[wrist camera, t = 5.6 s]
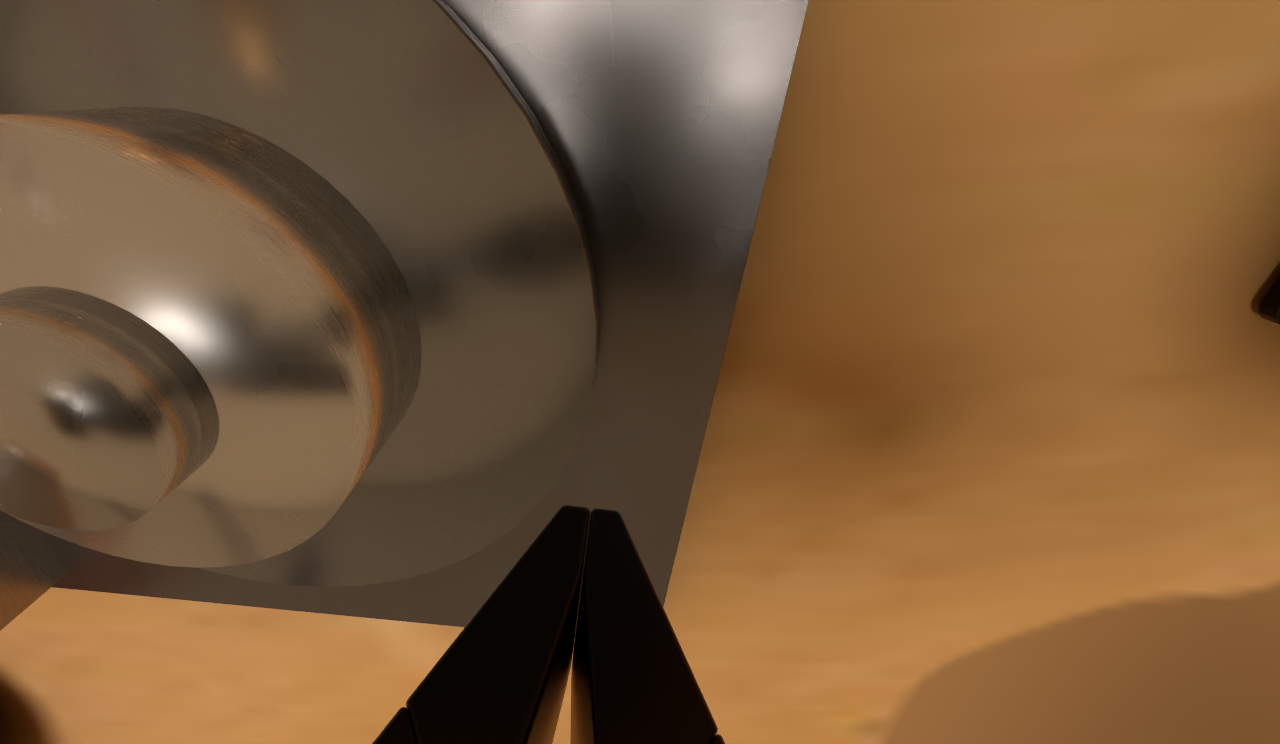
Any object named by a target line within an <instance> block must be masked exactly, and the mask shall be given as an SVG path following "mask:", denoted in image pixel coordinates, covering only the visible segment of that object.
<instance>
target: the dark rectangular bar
mask: <svg viewBox="0 0 1280 744" xmlns="http://www.w3.org/2000/svg"><path fill="white" fill-rule="evenodd" d="M67 573H68V571H67V569H66V567H65V565H64V564H63V562H62V560H61V558H60V556H59V554H58V553H57V551H56V549H55V547H54V545H53V543H52V542H51V540H50V538H49V536H48V534H47V533H46V532H44V531H42V530H40V529H37V528H35V527H33V526H31V525H29V524H26V523H24V522H22V521H20V520H18V519H16V518H14V517H12V516H11V515H9V514H7V513H2V512H0V630H2V629H3V628H4V627H5V626H6V625H7V624H9V623H10V622H11V621H12V620H13V619H14V618H16V617H17V616H18V615H19V614H20V613H21V612H23V611H24V610H25V609H26V608H27V607H28V606H30V605H31V604H32V603H33V602H34V601H35V600H37V599H38V598H39V597H40V596H41V595H42V594H44V593H45V592H46V591H47V590H48V589H49V588H51V587H52V586H53V585H54V584H55V583H56V582H58V581H59V580H60V579H61V578H62V577H64V576H65V575H66V574H67Z"/></svg>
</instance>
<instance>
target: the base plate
mask: <svg viewBox="0 0 1280 744" xmlns="http://www.w3.org/2000/svg"><path fill="white" fill-rule="evenodd" d="M443 1H444V2H445V3H446V4H447V5H448V6H449V7H450V8H451V9H452V10H453V11H454V12H455V13H456V14H457V15H458V16H459V18H460V19H461V20H462V21H463V22H464V23H465V24H466V26H467V27H468V28H469V29H470V30H471V31H472V32H473V34H474V35H475V36H476V37H477V38H478V39H479V40H480V42H481V43H482V44H483V45H484V46H485V47H486V48H487V50H488V51H489V52H490V53H491V54H492V55H493V56H494V58H495V59H496V60H497V61H498V62H499V64H500V65H501V67H502V68H503V70H504V71H505V73H506V74H507V75H508V77H509V78H510V80H511V81H512V83H513V84H514V85H515V87H516V88H517V90H518V91H519V93H520V94H521V96H522V97H523V98H524V100H525V101H526V103H527V104H528V106H529V107H530V109H531V110H532V111H533V113H534V114H535V116H536V118H537V120H538V122H539V124H540V126H541V128H542V129H543V131H544V133H545V135H546V137H547V139H548V141H549V142H550V144H551V146H552V148H553V150H554V152H555V154H556V156H557V157H558V159H559V161H560V163H561V165H562V167H563V170H564V172H565V175H566V177H567V180H568V182H569V185H570V187H571V190H572V193H573V195H574V198H575V200H576V203H577V205H578V208H579V211H580V213H581V216H582V219H583V223H584V227H585V231H586V235H587V239H588V243H589V247H590V251H591V255H592V259H593V263H594V268H595V277H596V286H597V294H598V303H599V342H598V356H597V362H596V367H595V373H594V379H593V384H592V390H591V396H590V402H589V407H588V412H587V415H586V418H585V421H584V424H583V427H582V430H581V433H580V436H579V438H578V441H577V444H576V447H575V449H574V451H573V453H572V455H571V456H570V458H569V460H568V462H567V464H566V466H565V468H564V470H563V471H562V473H561V475H560V477H559V478H558V480H557V481H556V482H555V484H554V485H553V486H552V488H551V489H550V490H549V492H548V493H547V494H546V496H545V497H544V498H543V500H542V501H541V502H540V504H539V505H538V506H537V507H536V508H535V509H534V510H533V511H531V512H530V513H529V514H528V515H527V516H526V517H525V518H524V519H523V520H522V521H521V522H520V523H519V524H518V525H517V526H516V527H515V528H513V529H512V530H511V531H509V532H508V533H506V534H505V535H504V536H502V537H501V538H499V539H498V540H497V541H495V542H494V543H492V544H491V545H490V546H488V547H486V548H484V549H482V550H480V551H478V552H476V553H475V554H473V555H471V556H469V557H467V558H465V559H463V560H461V561H459V562H456V563H454V564H451V565H448V566H446V567H443V568H440V569H438V570H435V571H432V572H430V573H426V574H422V575H418V576H414V577H410V578H406V579H402V580H398V581H391V582H384V583H377V584H369V585H362V586H337V587H317V586H297V585H284V584H277V583H269V582H262V581H255V580H248V579H244V578H239V577H234V576H230V575H225V574H220V573H216V572H211V571H208V570H204V569H201V568H194V567H178V566H166V565H160V564H153V563H146V562H140V561H135V560H131V559H126V558H122V557H117V556H113V555H109V554H106V553H103V552H99V551H96V550H93V549H89V548H86V547H83V546H80V545H77V544H75V543H72V542H69V541H67V540H64V539H61V538H59V537H56V536H53V535H51V534H49V533H47V534H48V536H49V538H50V540H51V542H52V543H53V545H54V547H55V549H56V551H57V553H58V554H59V556H60V558H61V560H62V562H63V564H64V565H65V567H66V569H67V571H68V573H67V574H66V575H65V576H64V577H62V578H61V579H60V580H59V581H58V582H56V583H55V584H54V585H53V586H52V587H57V588H68V589H78V590H88V591H99V592H109V593H119V594H129V595H140V596H150V597H160V598H171V599H181V600H191V601H201V602H212V603H222V604H232V605H243V606H253V607H263V608H273V609H284V610H294V611H304V612H315V613H325V614H335V615H346V616H356V617H366V618H376V619H387V620H397V621H407V622H418V623H428V624H438V625H448V626H459V627H466V626H467V625H468V623H469V622H470V621H471V620H472V618H473V617H474V616H475V614H476V613H477V612H478V611H479V609H480V608H481V607H482V606H483V604H484V603H485V602H486V601H487V599H488V598H489V597H490V596H491V594H492V593H493V592H494V591H495V589H496V588H497V587H498V586H499V584H500V583H501V582H502V581H503V579H504V578H505V577H506V576H507V574H508V573H509V572H510V570H511V569H512V568H513V567H514V565H515V564H516V563H517V562H518V560H519V559H520V558H521V557H522V555H523V554H524V553H525V552H526V550H527V549H528V548H529V547H530V545H531V544H532V543H533V542H534V540H535V539H536V538H537V537H538V535H539V534H540V533H541V532H542V530H543V529H544V528H545V526H546V525H547V524H548V523H549V521H550V520H551V519H552V518H553V516H554V515H555V514H556V513H557V511H558V510H559V509H560V508H561V507H562V506H564V505H570V506H579V507H587V508H588V509H589V510H590V515H591V511H592V510H593V509H595V508H598V509H607V510H615V511H618V512H619V513H620V514H621V516H622V518H623V520H624V522H625V525H626V527H627V529H628V531H629V533H630V536H631V538H632V540H633V542H634V544H635V547H636V549H637V551H638V553H639V556H640V558H641V560H642V562H643V564H644V567H645V569H646V571H647V573H648V575H649V578H650V580H651V582H652V584H653V586H654V589H655V591H656V593H657V595H658V598H659V600H660V602H661V604H662V606H663V605H664V601H665V597H666V593H667V589H668V584H669V580H670V576H671V572H672V568H673V564H674V559H675V555H676V551H677V547H678V543H679V539H680V534H681V530H682V526H683V522H684V518H685V514H686V509H687V505H688V501H689V497H690V493H691V489H692V484H693V480H694V476H695V472H696V468H697V464H698V459H699V455H700V451H701V447H702V443H703V438H704V434H705V430H706V426H707V422H708V418H709V413H710V409H711V405H712V401H713V397H714V393H715V388H716V384H717V380H718V376H719V372H720V368H721V363H722V359H723V355H724V351H725V347H726V343H727V338H728V334H729V330H730V326H731V322H732V318H733V313H734V309H735V305H736V301H737V297H738V293H739V288H740V284H741V280H742V276H743V272H744V268H745V263H746V259H747V255H748V251H749V247H750V243H751V238H752V234H753V230H754V226H755V222H756V218H757V213H758V209H759V205H760V201H761V197H762V192H763V188H764V184H765V180H766V176H767V172H768V167H769V163H770V159H771V155H772V151H773V147H774V142H775V138H776V134H777V130H778V126H779V122H780V117H781V113H782V109H783V105H784V101H785V97H786V92H787V88H788V84H789V80H790V76H791V72H792V67H793V63H794V59H795V55H796V51H797V47H798V42H799V38H800V34H801V30H802V26H803V22H804V17H805V13H806V9H807V5H808V1H809V0H443ZM0 512H2V511H0ZM2 513H5V512H2ZM589 522H590V520H589ZM588 530H589V528H588ZM587 538H588V536H587ZM586 546H587V544H586ZM585 554H586V552H585ZM584 562H585V560H584ZM583 570H584V568H583ZM582 578H583V576H582ZM581 586H582V584H581ZM580 594H581V592H580ZM579 602H580V599H579ZM578 610H579V607H578ZM577 618H578V615H577ZM576 626H577V623H576ZM575 634H576V631H575Z"/></svg>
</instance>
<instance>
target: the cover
mask: <svg viewBox="0 0 1280 744" xmlns="http://www.w3.org/2000/svg"><path fill="white" fill-rule="evenodd" d="M421 360H422V343H421V336H420V328H419V321H418V318H417V314H416V310H415V307H414V303H413V299H412V297H411V295H410V292H409V290H408V287H407V285H406V282H405V280H404V278H403V275H402V273H401V271H400V270H399V268H398V266H397V264H396V262H395V261H394V259H393V257H392V255H391V253H390V252H389V250H388V249H387V247H386V246H385V244H384V243H383V242H382V240H381V239H380V237H379V236H378V234H377V233H376V232H375V230H374V229H373V227H372V226H371V225H370V224H369V223H368V221H367V220H366V219H365V218H364V217H363V216H362V215H361V213H360V212H359V211H358V210H357V209H356V208H355V207H354V206H353V204H352V203H351V202H350V201H349V200H348V199H347V198H346V197H344V196H343V195H342V194H341V193H340V192H339V191H338V190H337V189H336V188H335V187H334V186H333V185H332V184H330V183H329V182H328V181H327V180H326V179H325V178H323V177H322V176H321V175H320V174H318V173H317V172H316V171H314V170H313V169H312V168H310V167H309V166H308V165H306V164H305V163H304V162H302V161H301V160H300V159H298V158H297V157H295V156H293V155H292V154H290V153H288V152H287V151H285V150H283V149H282V148H280V147H279V146H277V145H275V144H274V143H272V142H270V141H268V140H266V139H264V138H262V137H260V136H258V135H256V134H254V133H251V132H249V131H247V130H245V129H243V128H241V127H239V126H236V125H233V124H230V123H227V122H224V121H221V120H218V119H216V118H213V117H210V116H206V115H202V114H197V113H193V112H188V111H184V110H179V109H172V108H161V107H149V106H139V107H121V108H104V109H86V110H68V111H50V112H33V113H15V114H0V511H2V512H5V513H7V514H9V515H11V516H12V517H14V518H16V519H18V520H20V521H22V522H24V523H26V524H29V525H31V526H33V527H35V528H37V529H40V530H42V531H44V532H46V533H49V534H51V535H53V536H56V537H59V538H61V539H64V540H67V541H69V542H72V543H75V544H77V545H80V546H83V547H86V548H89V549H93V550H96V551H99V552H103V553H106V554H109V555H113V556H117V557H122V558H126V559H131V560H135V561H140V562H146V563H153V564H160V565H166V566H178V567H194V568H202V567H226V566H233V565H241V564H248V563H252V562H256V561H260V560H264V559H268V558H271V557H273V556H276V555H278V554H281V553H284V552H286V551H289V550H291V549H293V548H294V547H296V546H298V545H299V544H301V543H303V542H305V541H306V540H308V539H309V538H311V537H312V536H313V535H314V534H315V533H317V532H318V531H319V530H320V529H321V528H323V527H324V526H325V525H326V524H327V522H328V521H329V520H330V519H331V518H332V516H333V515H334V514H335V513H336V512H337V510H338V509H339V508H340V506H341V505H342V503H343V502H344V501H345V499H346V498H347V496H348V495H349V494H350V492H351V491H352V489H353V488H354V487H355V485H356V484H357V482H358V481H359V480H360V478H361V477H362V475H363V474H364V473H365V471H366V470H367V468H368V467H369V466H370V464H371V463H372V461H373V460H374V459H375V457H376V456H377V454H378V453H379V452H380V450H381V449H382V447H383V446H384V445H385V443H386V442H387V440H388V439H389V438H390V436H391V435H392V433H393V432H394V431H395V429H396V428H397V426H398V425H399V424H400V422H401V421H402V419H403V418H404V416H405V414H406V412H407V411H408V409H409V407H410V405H411V404H412V401H413V398H414V395H415V392H416V390H417V387H418V383H419V377H420V371H421Z"/></svg>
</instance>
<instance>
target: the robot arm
mask: <svg viewBox="0 0 1280 744" xmlns="http://www.w3.org/2000/svg"><path fill="white" fill-rule="evenodd" d="M1259 314H1260V315H1261V317H1262V318H1265V319H1267V320H1270V321H1272V322H1275V323H1277V324H1280V277H1279V278H1278V279H1277V281H1276V282H1275V283H1274V285H1273V286H1272V287H1271V289H1270V290H1269V291H1268V293H1267V294H1266V295H1265V297H1264V298H1263V300H1262V302H1261V304H1260V305H1259ZM589 520H590V522H589ZM588 528H589V530H588ZM587 536H588V538H587ZM586 544H587V546H586ZM585 552H586V554H585ZM584 560H585V562H584ZM583 568H584V570H583ZM582 576H583V578H582ZM581 584H582V586H581ZM580 592H581V594H580ZM579 599H580V602H579ZM578 607H579V610H578ZM577 615H578V618H577ZM576 623H577V626H576ZM575 631H576V634H575ZM574 639H575V642H574ZM573 647H574V650H573ZM572 654H573V661H572V678H571V744H725V743H724V740H723V738H722V736H721V735H716V734H717V731H718V728H717V726H716V723H715V721H714V719H713V717H712V715H711V712H710V710H709V708H708V706H707V704H706V701H705V699H704V697H703V695H702V693H701V690H700V688H699V686H698V684H697V681H696V679H695V677H694V675H693V673H692V670H691V668H690V666H689V664H688V662H687V659H686V657H685V655H684V653H683V651H682V648H681V646H680V644H679V642H678V639H677V637H676V635H675V633H674V631H673V628H672V626H671V624H670V622H669V620H668V617H667V615H666V613H665V611H664V609H663V606H662V604H661V602H660V600H659V598H658V595H657V593H656V591H655V589H654V586H653V584H652V582H651V580H650V578H649V575H648V573H647V571H646V569H645V567H644V564H643V562H642V560H641V558H640V556H639V553H638V551H637V549H636V547H635V544H634V542H633V540H632V538H631V536H630V533H629V531H628V529H627V527H626V525H625V522H624V520H623V518H622V516H621V514H620V513H619V512H618V511H615V510H607V509H598V508H595V509H593V510H592V511H591V515H590V510H589V509H588V508H587V507H579V506H570V505H564V506H562V507H561V508H560V509H559V510H558V511H557V513H556V514H555V515H554V516H553V518H552V519H551V520H550V521H549V523H548V524H547V525H546V526H545V528H544V529H543V530H542V532H541V533H540V534H539V535H538V537H537V538H536V539H535V540H534V542H533V543H532V544H531V545H530V547H529V548H528V549H527V550H526V552H525V553H524V554H523V555H522V557H521V558H520V559H519V560H518V562H517V563H516V564H515V565H514V567H513V568H512V569H511V570H510V572H509V573H508V574H507V576H506V577H505V578H504V579H503V581H502V582H501V583H500V584H499V586H498V587H497V588H496V589H495V591H494V592H493V593H492V594H491V596H490V597H489V598H488V599H487V601H486V602H485V603H484V604H483V606H482V607H481V608H480V609H479V611H478V612H477V613H476V614H475V616H474V617H473V618H472V620H471V621H470V622H469V623H468V625H467V626H466V627H465V628H464V630H463V631H462V632H461V633H460V635H459V636H458V637H457V638H456V640H455V641H454V642H453V643H452V645H451V646H450V647H449V648H448V650H447V651H446V652H445V653H444V655H443V656H442V657H441V658H440V660H439V661H438V662H437V664H436V665H435V666H434V667H433V669H432V670H431V671H430V672H429V674H428V675H427V676H426V677H425V679H424V680H423V681H422V682H421V684H420V685H419V686H418V687H417V689H416V690H415V691H414V692H413V694H412V695H411V696H410V697H409V699H408V700H407V702H406V708H405V707H403V708H401V709H400V710H399V711H398V712H397V713H396V715H395V716H394V717H393V718H392V720H391V721H390V722H389V723H388V725H387V726H386V727H385V728H384V730H383V731H382V732H381V733H380V735H379V736H378V737H377V738H376V740H375V741H374V742H373V743H372V744H552V742H553V738H554V734H555V730H556V726H557V722H558V718H559V714H560V710H561V705H562V701H563V697H564V693H565V689H566V685H567V680H568V676H569V671H570V666H571V660H572Z"/></svg>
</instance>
